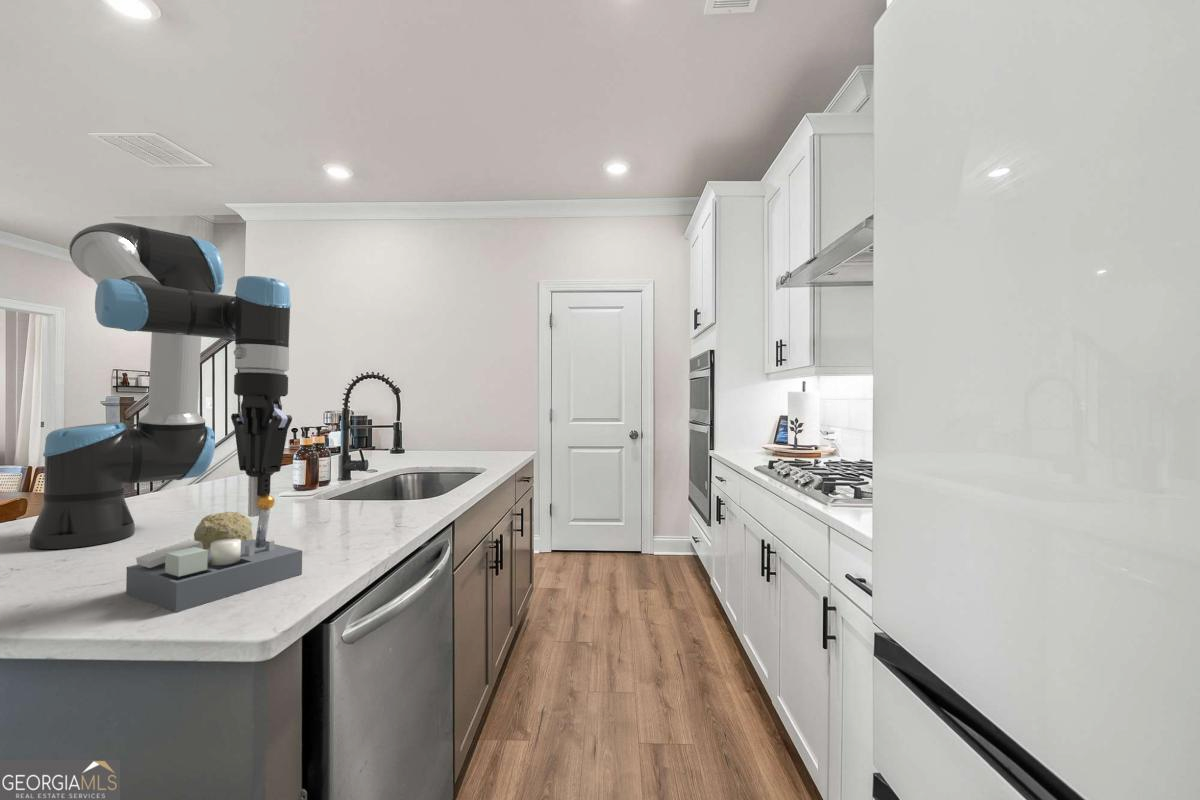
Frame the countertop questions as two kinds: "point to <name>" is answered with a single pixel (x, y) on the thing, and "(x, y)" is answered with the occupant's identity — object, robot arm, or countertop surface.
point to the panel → (214, 577)
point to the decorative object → (223, 528)
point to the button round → (225, 551)
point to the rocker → (159, 555)
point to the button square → (186, 561)
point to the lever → (263, 519)
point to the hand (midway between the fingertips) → (258, 514)
